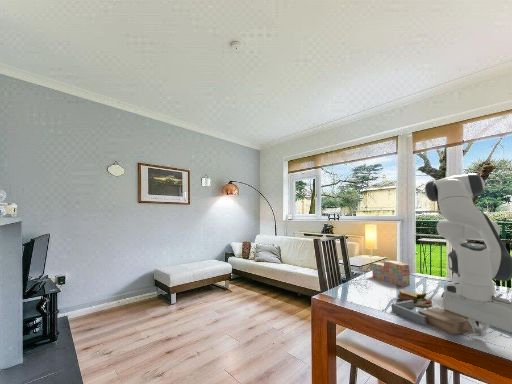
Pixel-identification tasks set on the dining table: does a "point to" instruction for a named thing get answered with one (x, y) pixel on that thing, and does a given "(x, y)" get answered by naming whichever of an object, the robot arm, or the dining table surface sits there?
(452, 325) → the walnut slab
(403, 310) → the corner jig
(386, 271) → the stack of blocks
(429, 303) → the toy sandwich meal
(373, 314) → the dining table surface
